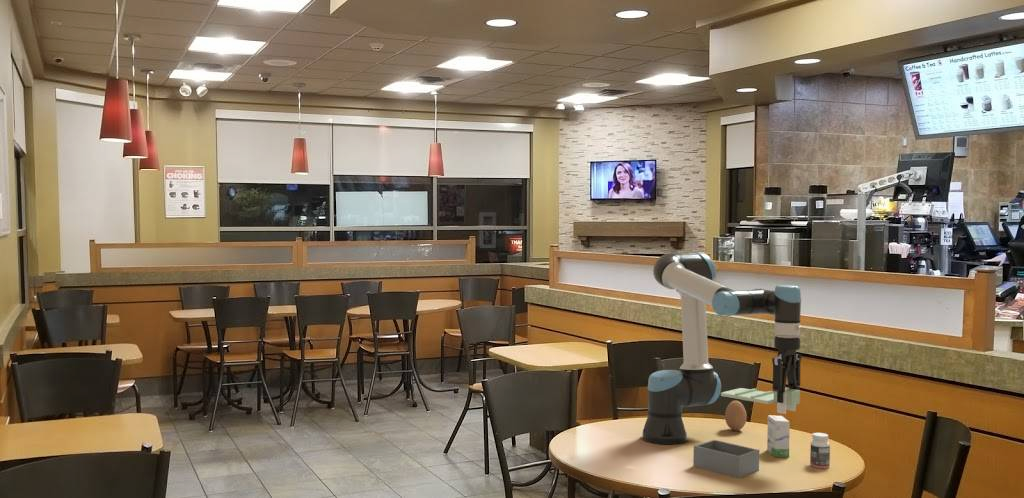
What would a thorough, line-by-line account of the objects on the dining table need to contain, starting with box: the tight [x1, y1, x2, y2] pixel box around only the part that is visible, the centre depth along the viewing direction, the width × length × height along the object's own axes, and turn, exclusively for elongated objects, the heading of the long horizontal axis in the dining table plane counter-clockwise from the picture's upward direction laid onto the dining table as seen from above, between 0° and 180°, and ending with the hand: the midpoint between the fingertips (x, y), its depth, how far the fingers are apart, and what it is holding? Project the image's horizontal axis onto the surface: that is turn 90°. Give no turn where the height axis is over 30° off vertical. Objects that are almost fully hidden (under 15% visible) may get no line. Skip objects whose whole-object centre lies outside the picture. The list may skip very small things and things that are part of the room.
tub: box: [692, 439, 760, 479], centre depth 259 cm, size 16×11×7 cm
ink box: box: [766, 414, 791, 458], centre depth 278 cm, size 8×5×12 cm, turn 0°
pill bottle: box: [809, 432, 831, 469], centre depth 264 cm, size 6×6×10 cm
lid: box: [720, 387, 801, 406], centre depth 266 cm, size 23×12×4 cm, turn 43°
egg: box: [724, 400, 747, 432], centre depth 308 cm, size 8×8×11 cm
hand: (786, 411), depth 260 cm, fingers closed on lid, 5 cm apart
